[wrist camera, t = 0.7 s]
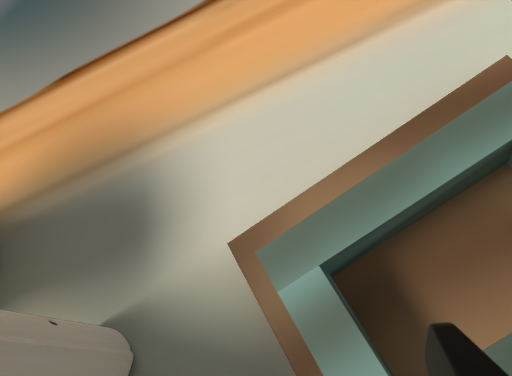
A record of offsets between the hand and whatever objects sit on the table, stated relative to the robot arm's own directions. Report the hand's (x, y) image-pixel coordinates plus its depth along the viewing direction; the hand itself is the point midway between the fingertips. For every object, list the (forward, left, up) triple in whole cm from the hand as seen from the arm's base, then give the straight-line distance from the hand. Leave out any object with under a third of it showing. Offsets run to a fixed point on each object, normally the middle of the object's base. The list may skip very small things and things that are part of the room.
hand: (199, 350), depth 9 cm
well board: (0, -7, -13) cm, 15 cm away
